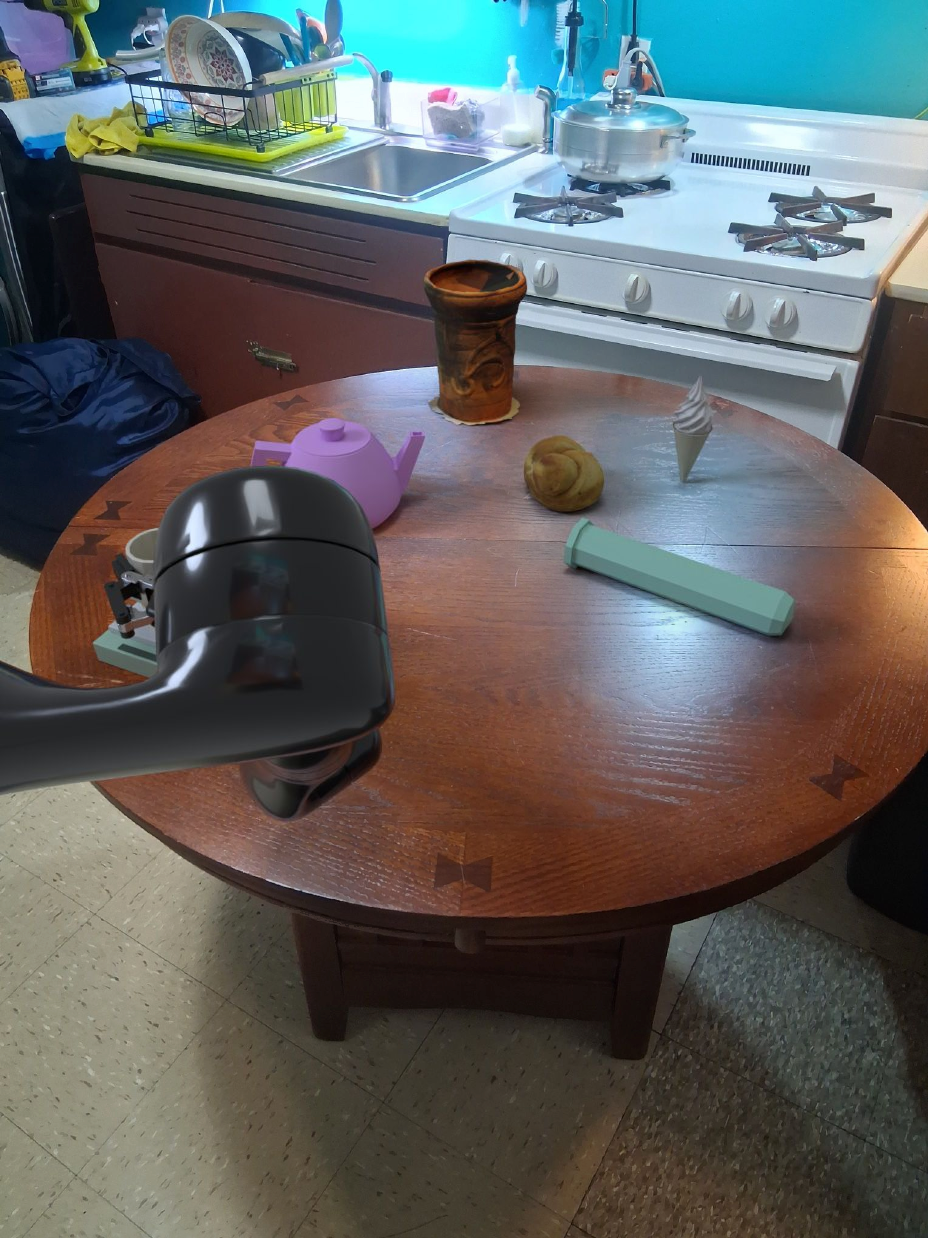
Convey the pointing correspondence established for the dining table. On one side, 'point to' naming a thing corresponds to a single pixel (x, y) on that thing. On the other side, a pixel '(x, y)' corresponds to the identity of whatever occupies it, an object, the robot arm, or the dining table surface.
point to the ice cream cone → (692, 428)
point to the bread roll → (563, 474)
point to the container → (680, 579)
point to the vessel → (475, 338)
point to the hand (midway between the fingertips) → (153, 550)
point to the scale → (129, 649)
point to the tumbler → (142, 554)
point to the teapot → (350, 462)
